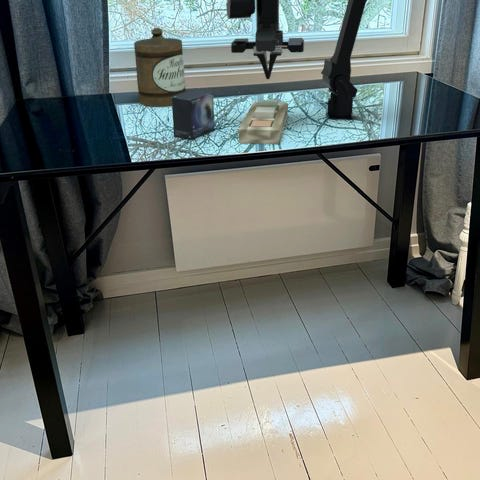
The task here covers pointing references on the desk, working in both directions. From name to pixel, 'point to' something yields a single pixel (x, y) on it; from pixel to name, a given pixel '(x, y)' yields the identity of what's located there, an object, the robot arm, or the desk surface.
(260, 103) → the key sage
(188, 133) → the small box
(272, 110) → the key ivory
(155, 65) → the wooden container
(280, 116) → the keypad housing
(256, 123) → the key terracotta
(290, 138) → the desk surface
